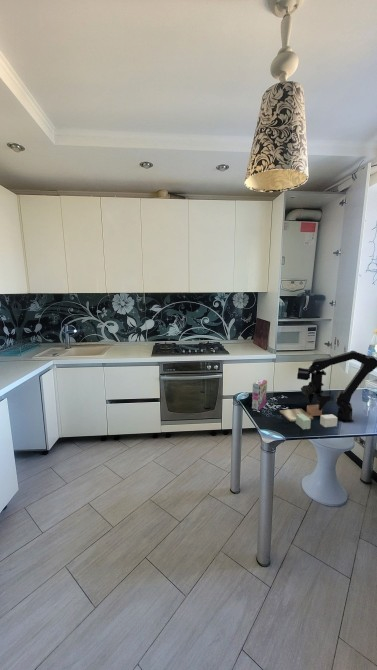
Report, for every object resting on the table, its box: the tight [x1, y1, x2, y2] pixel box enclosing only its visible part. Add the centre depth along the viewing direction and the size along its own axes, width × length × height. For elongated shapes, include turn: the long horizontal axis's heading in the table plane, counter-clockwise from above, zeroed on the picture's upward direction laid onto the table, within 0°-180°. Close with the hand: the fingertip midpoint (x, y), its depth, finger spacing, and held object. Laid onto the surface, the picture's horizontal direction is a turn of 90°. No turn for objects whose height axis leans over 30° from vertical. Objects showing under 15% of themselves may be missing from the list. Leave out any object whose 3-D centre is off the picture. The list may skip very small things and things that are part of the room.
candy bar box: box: [251, 379, 268, 411], centre depth 161 cm, size 11×5×16 cm, turn 141°
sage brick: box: [295, 414, 312, 430], centre depth 138 cm, size 7×4×5 cm, turn 9°
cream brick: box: [319, 413, 338, 428], centre depth 139 cm, size 7×4×5 cm, turn 99°
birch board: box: [279, 408, 314, 422], centre depth 150 cm, size 14×12×1 cm
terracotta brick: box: [306, 403, 323, 417], centre depth 152 cm, size 7×4×5 cm, turn 99°
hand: (314, 406), depth 151 cm, fingers open, 9 cm apart
